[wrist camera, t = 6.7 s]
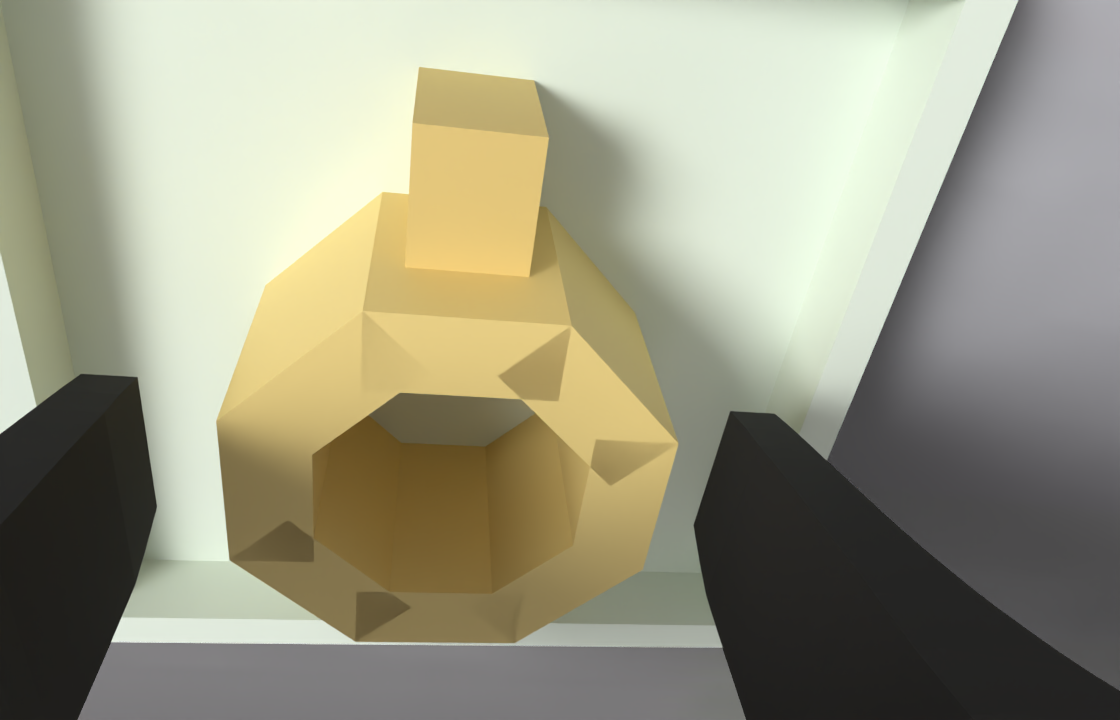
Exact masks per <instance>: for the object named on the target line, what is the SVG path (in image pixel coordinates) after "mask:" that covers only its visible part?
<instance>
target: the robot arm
mask: <svg viewBox="0 0 1120 720" xmlns="http://www.w3.org/2000/svg"><path fill="white" fill-rule="evenodd" d="M156 509H157V503H156V496H155V490H154V483H153V476H152V470H151V463H150V456H149V450H148V443H147V436H146V430H145V423H144V416H143V410H142V403H141V396H140V390H139V383H138V377H129V376H112V375H94V374H80V375H79V376H77V377H76V378H74V379H73V380H72V381H70V382H69V383H67V384H66V385H65V386H63V387H62V388H60V389H59V390H58V391H56V392H55V393H54V394H52V395H51V396H50V397H48V398H47V399H46V400H44V401H43V402H42V403H40V404H39V405H38V406H36V407H35V408H34V409H32V410H31V411H30V412H29V413H27V414H26V415H25V416H23V417H22V418H21V419H19V420H18V421H17V422H15V423H14V424H13V425H11V426H10V427H9V428H7V429H6V430H5V431H3V432H2V433H1V434H0V720H77V719H78V717H79V715H80V712H81V710H82V708H83V705H84V703H85V701H86V699H87V696H88V694H89V692H90V689H91V687H92V685H93V682H94V680H95V678H96V676H97V673H98V671H99V669H100V666H101V664H102V662H103V659H104V657H105V655H106V653H107V650H108V648H109V646H110V643H111V641H112V639H113V636H114V634H115V632H116V629H117V627H118V625H119V622H120V620H121V618H122V615H123V613H124V610H125V608H126V606H127V603H128V601H129V599H130V596H131V594H132V591H133V589H134V587H135V584H136V581H137V577H138V574H139V571H140V567H141V564H142V560H143V557H144V554H145V550H146V547H147V543H148V539H149V535H150V532H151V528H152V524H153V520H154V517H155V513H156ZM693 526H694V532H695V538H696V544H697V550H698V556H699V562H700V567H701V572H702V577H703V582H704V587H705V592H706V597H707V600H708V603H709V606H710V610H711V613H712V616H713V619H714V622H715V625H716V629H717V632H718V635H719V638H720V641H721V644H722V647H723V651H724V654H725V657H726V660H727V663H728V666H729V669H730V672H731V675H732V678H733V681H734V684H735V687H736V690H737V693H738V696H739V699H740V702H741V705H742V708H743V711H744V714H745V717H746V720H1120V691H1119V690H1117V689H1115V688H1114V687H1112V686H1111V685H1109V684H1107V683H1106V682H1104V681H1103V680H1101V679H1100V678H1098V677H1096V676H1095V675H1093V674H1092V673H1090V672H1088V671H1087V670H1085V669H1084V668H1082V667H1081V666H1079V665H1078V664H1076V663H1075V662H1073V661H1072V660H1070V659H1069V658H1067V657H1066V656H1064V655H1063V654H1061V653H1060V652H1058V651H1057V650H1055V649H1054V648H1052V647H1051V646H1050V645H1048V644H1047V643H1045V642H1044V641H1042V640H1041V639H1040V638H1038V637H1037V636H1036V635H1034V634H1033V633H1031V632H1030V631H1029V630H1027V629H1026V628H1024V627H1023V626H1022V625H1020V624H1019V623H1018V622H1016V621H1015V620H1013V619H1012V618H1011V617H1009V616H1008V615H1006V614H1005V613H1004V612H1002V611H1001V610H1000V609H998V608H997V607H995V606H994V605H993V604H991V603H990V602H989V601H988V600H986V599H985V598H984V597H982V596H981V595H980V594H978V593H977V592H976V591H975V590H973V589H972V588H971V587H969V586H968V585H967V584H966V583H964V582H963V581H962V580H961V579H960V578H958V577H957V576H956V575H955V574H954V573H952V572H951V571H950V570H949V569H948V568H946V567H945V566H944V565H943V564H941V563H940V562H939V561H938V560H937V559H935V558H934V557H933V556H932V555H931V554H929V553H928V552H927V551H926V550H924V549H923V548H922V547H921V546H920V545H919V544H918V543H916V542H915V541H914V540H913V539H912V538H911V537H909V536H908V535H907V534H906V533H905V532H904V531H903V530H901V529H900V528H899V527H898V526H897V525H896V524H895V523H894V522H892V521H891V520H890V519H889V518H888V517H887V516H886V515H885V514H884V513H882V512H881V511H880V510H879V509H878V508H877V507H876V506H875V505H874V504H873V503H872V502H870V501H869V500H868V499H867V498H866V497H865V496H864V495H863V494H862V493H861V492H860V491H859V490H857V489H856V488H855V487H854V486H853V485H852V484H851V483H850V482H849V481H848V480H847V479H846V478H845V477H844V476H843V475H841V474H840V473H839V472H838V471H837V470H836V469H835V468H834V467H833V466H832V465H831V464H830V463H829V462H828V461H827V460H826V459H824V458H823V457H822V456H821V455H820V454H819V453H818V452H817V451H816V450H815V449H814V448H813V447H812V446H811V445H810V444H808V443H807V442H806V441H805V440H804V439H803V438H802V437H801V436H800V435H799V434H798V433H797V432H795V431H794V430H793V429H792V428H791V427H790V426H789V425H788V424H787V423H785V422H784V421H783V420H782V419H781V418H779V417H778V416H777V415H776V414H773V413H756V412H738V411H730V413H729V416H728V419H727V422H726V426H725V429H724V432H723V435H722V438H721V441H720V444H719V447H718V450H717V454H716V457H715V460H714V463H713V466H712V469H711V472H710V475H709V478H708V481H707V485H706V488H705V491H704V494H703V497H702V500H701V503H700V506H699V509H698V513H697V516H696V519H695V522H694V525H693Z"/></svg>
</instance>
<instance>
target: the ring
mask: <svg viewBox="0 0 1120 720" xmlns="http://www.w3.org/2000/svg"><path fill="white" fill-rule="evenodd" d="M548 141H549V135H548V132H547V128H546V124H545V120H544V116H543V112H542V108H541V105H540V101H539V97H538V93H537V89H536V85H535V82H534V80H527V79H518V78H510V77H501V76H493V75H484V74H476V73H467V72H459V71H450V70H442V69H433V68H425V67H419V70H418V79H417V88H416V96H415V105H414V114H413V122H412V141H411V160H410V180H409V194H401V193H391V192H382V193H380V194H379V195H378V196H377V197H375V198H374V199H373V200H372V201H370V202H369V203H368V204H367V205H365V206H364V207H363V208H362V209H360V210H359V211H358V212H357V213H355V214H354V215H353V216H352V217H350V218H349V219H348V220H347V221H345V222H344V223H343V224H342V225H340V226H339V227H338V228H337V229H335V230H334V231H333V232H332V233H330V234H329V235H328V236H327V237H325V238H324V239H323V240H321V241H320V242H319V243H318V244H316V245H315V246H314V247H313V248H311V249H310V250H309V251H308V252H306V253H305V254H304V255H303V256H301V257H300V258H299V259H298V260H296V261H295V262H294V263H293V264H291V265H290V266H289V267H288V268H286V269H285V270H284V271H283V272H281V273H280V274H279V275H278V276H276V277H275V278H274V279H273V280H271V281H270V282H269V283H268V284H266V285H265V288H264V291H263V293H262V296H261V299H260V302H259V304H258V307H257V310H256V313H255V315H254V318H253V321H252V324H251V326H250V329H249V332H248V335H247V337H246V340H245V343H244V346H243V348H242V351H241V354H240V357H239V359H238V362H237V365H236V368H235V370H234V373H233V376H232V379H231V381H230V384H229V387H228V390H227V392H226V395H225V398H224V401H223V403H222V406H221V409H220V412H219V414H218V417H217V420H216V425H217V436H218V446H219V457H220V467H221V478H222V488H223V499H224V509H225V520H226V530H227V541H228V551H229V560H230V561H231V562H233V563H234V564H236V565H238V566H239V567H241V568H242V569H244V570H245V571H247V572H248V573H250V574H251V575H253V576H255V577H256V578H258V579H259V580H261V581H262V582H264V583H265V584H267V585H268V586H270V587H272V588H273V589H275V590H276V591H278V592H279V593H281V594H282V595H284V596H285V597H287V598H289V599H290V600H292V601H293V602H295V603H296V604H298V605H299V606H301V607H302V608H304V609H306V610H307V611H309V612H310V613H312V614H313V615H315V616H316V617H318V618H319V619H321V620H323V621H324V622H326V623H327V624H329V625H330V626H332V627H333V628H335V629H336V630H338V631H340V632H341V633H343V634H344V635H346V636H347V637H349V638H350V639H352V640H353V641H355V642H430V643H516V642H518V641H519V640H521V639H523V638H525V637H526V636H528V635H530V634H532V633H533V632H535V631H537V630H539V629H540V628H542V627H544V626H546V625H547V624H549V623H551V622H553V621H554V620H556V619H558V618H560V617H561V616H563V615H565V614H567V613H568V612H570V611H572V610H573V609H575V608H577V607H579V606H580V605H582V604H584V603H586V602H587V601H589V600H591V599H593V598H594V597H596V596H598V595H600V594H601V593H603V592H605V591H607V590H608V589H610V588H612V587H614V586H615V585H617V584H619V583H621V582H622V581H624V580H626V579H628V578H629V577H631V576H633V575H635V574H636V573H638V572H640V571H641V570H643V567H644V564H645V560H646V557H647V553H648V550H649V546H650V543H651V539H652V536H653V532H654V529H655V525H656V522H657V518H658V515H659V511H660V508H661V504H662V501H663V497H664V494H665V490H666V487H667V483H668V480H669V476H670V472H671V469H672V465H673V462H674V458H675V455H676V451H677V448H678V444H679V443H678V440H677V437H676V434H675V431H674V428H673V425H672V422H671V419H670V416H669V413H668V410H667V407H666V404H665V401H664V398H663V395H662V392H661V389H660V386H659V383H658V380H657V377H656V374H655V371H654V368H653V365H652V362H651V359H650V356H649V353H648V350H647V347H646V344H645V341H644V338H643V335H642V332H641V329H640V326H639V323H638V320H637V317H636V314H635V312H634V311H633V309H632V308H631V307H630V306H629V305H628V304H627V302H626V301H625V300H624V299H623V298H622V296H621V295H620V294H619V293H618V292H617V290H616V289H615V288H614V287H613V286H612V285H611V283H610V282H609V281H608V280H607V279H606V277H605V276H604V275H603V274H602V273H601V271H600V270H599V269H598V268H597V267H596V265H595V264H594V263H593V262H592V261H591V260H590V258H589V257H588V256H587V255H586V254H585V252H584V251H583V250H582V249H581V248H580V246H579V245H578V244H577V243H576V242H575V240H574V239H573V238H572V237H571V236H570V235H569V233H568V232H567V231H566V230H565V229H564V227H563V226H562V225H561V224H560V223H559V221H558V220H557V219H556V218H555V217H554V216H553V214H552V213H551V212H550V211H549V210H548V208H547V207H541V206H539V205H540V198H541V191H542V184H543V177H544V170H545V163H546V156H547V148H548ZM399 393H416V394H434V395H452V396H470V397H488V398H506V399H521V400H522V401H523V402H524V403H526V404H527V405H528V406H529V407H530V408H531V409H532V410H533V411H534V412H535V414H534V415H532V416H531V417H529V418H528V419H526V420H525V421H523V422H522V423H520V424H519V425H517V426H516V427H514V428H513V429H511V430H510V431H508V432H506V433H505V434H503V435H502V436H500V437H499V438H497V439H496V440H494V441H493V442H491V443H490V444H488V445H487V446H485V447H484V446H463V445H441V444H419V443H401V442H400V441H399V440H397V439H396V438H395V437H394V436H393V435H391V434H390V433H389V432H388V431H387V430H385V429H384V428H383V427H382V426H381V425H380V424H378V423H377V422H376V421H375V420H374V419H372V418H371V417H370V416H369V414H370V413H372V412H373V411H375V410H376V409H378V408H379V407H380V406H382V405H383V404H385V403H386V402H387V401H389V400H390V399H392V398H393V397H395V396H396V395H397V394H399Z"/></svg>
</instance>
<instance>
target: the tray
mask: <svg viewBox="0 0 1120 720" xmlns="http://www.w3.org/2000/svg"><path fill="white" fill-rule="evenodd" d="M1017 2H1018V0H0V434H1V433H2V432H3V431H5V430H6V429H7V428H9V427H10V426H11V425H13V424H14V423H15V422H17V421H18V420H19V419H21V418H22V417H23V416H25V415H26V414H27V413H29V412H30V411H31V410H32V409H34V408H35V407H36V406H38V405H39V404H40V403H42V402H43V401H44V400H46V399H47V398H48V397H50V396H51V395H52V394H54V393H55V392H56V391H58V390H59V389H60V388H62V387H63V386H65V385H66V384H67V383H69V382H70V381H72V380H73V379H74V378H76V377H77V376H79V375H80V374H94V375H112V376H129V377H138V383H139V390H140V396H141V403H142V410H143V416H144V423H145V430H146V436H147V443H148V450H149V456H150V463H151V470H152V476H153V483H154V490H155V496H156V503H157V509H156V513H155V517H154V520H153V524H152V528H151V532H150V535H149V539H148V543H147V547H146V550H145V554H144V557H143V560H142V564H141V567H140V571H139V574H138V577H137V581H136V584H135V587H134V589H133V591H132V594H131V596H130V599H129V601H128V603H127V606H126V608H125V610H124V613H123V615H122V618H121V620H120V622H119V625H118V627H117V629H116V632H115V634H114V636H113V639H112V641H111V642H155V643H261V644H367V645H474V646H580V647H686V648H723V647H722V644H721V641H720V638H719V635H718V632H717V629H716V625H715V622H714V619H713V616H712V613H711V610H710V606H709V603H708V600H707V597H706V592H705V587H704V582H703V577H702V572H701V567H700V562H699V556H698V550H697V544H696V538H695V532H694V526H693V525H694V522H695V519H696V516H697V513H698V509H699V506H700V503H701V500H702V497H703V494H704V491H705V488H706V485H707V481H708V478H709V475H710V472H711V469H712V466H713V463H714V460H715V457H716V454H717V450H718V447H719V444H720V441H721V438H722V435H723V432H724V429H725V426H726V422H727V419H728V416H729V413H730V411H738V412H756V413H773V414H776V415H777V416H778V417H779V418H781V419H782V420H783V421H784V422H785V423H787V424H788V425H789V426H790V427H791V428H792V429H793V430H794V431H795V432H797V433H798V434H799V435H800V436H801V437H802V438H803V439H804V440H805V441H806V442H807V443H808V444H810V445H811V446H812V447H813V448H814V449H815V450H816V451H817V452H818V453H819V454H820V455H821V456H822V457H823V458H824V459H826V460H827V459H828V457H829V454H830V452H831V450H832V447H833V445H834V442H835V440H836V437H837V435H838V433H839V430H840V428H841V425H842V423H843V421H844V418H845V416H846V413H847V411H848V409H849V406H850V404H851V401H852V399H853V397H854V394H855V392H856V389H857V387H858V385H859V382H860V380H861V377H862V375H863V373H864V370H865V368H866V365H867V363H868V361H869V358H870V356H871V353H872V351H873V349H874V346H875V344H876V341H877V339H878V337H879V334H880V332H881V329H882V327H883V325H884V322H885V320H886V317H887V315H888V312H889V310H890V308H891V305H892V303H893V300H894V298H895V296H896V293H897V291H898V288H899V286H900V284H901V281H902V279H903V276H904V274H905V272H906V269H907V267H908V264H909V262H910V260H911V257H912V255H913V252H914V250H915V248H916V245H917V243H918V240H919V238H920V236H921V233H922V231H923V228H924V226H925V224H926V221H927V219H928V216H929V214H930V212H931V209H932V207H933V204H934V202H935V200H936V197H937V195H938V192H939V190H940V188H941V185H942V183H943V180H944V178H945V175H946V173H947V171H948V168H949V166H950V163H951V161H952V159H953V156H954V154H955V151H956V149H957V147H958V144H959V142H960V139H961V137H962V135H963V132H964V130H965V127H966V125H967V123H968V120H969V118H970V115H971V113H972V111H973V108H974V106H975V103H976V101H977V99H978V96H979V94H980V91H981V89H982V87H983V84H984V82H985V79H986V77H987V75H988V72H989V70H990V67H991V65H992V63H993V60H994V58H995V55H996V53H997V50H998V48H999V46H1000V43H1001V41H1002V38H1003V36H1004V34H1005V31H1006V29H1007V26H1008V24H1009V22H1010V19H1011V17H1012V14H1013V12H1014V10H1015V7H1016V5H1017ZM419 67H425V68H433V69H442V70H450V71H459V72H467V73H476V74H484V75H493V76H501V77H510V78H518V79H527V80H534V82H535V85H536V89H537V93H538V97H539V101H540V105H541V108H542V112H543V116H544V120H545V124H546V128H547V132H548V135H549V141H548V148H547V156H546V163H545V170H544V177H543V184H542V191H541V198H540V205H539V206H541V207H547V208H548V210H549V211H550V212H551V213H552V214H553V216H554V217H555V218H556V219H557V220H558V221H559V223H560V224H561V225H562V226H563V227H564V229H565V230H566V231H567V232H568V233H569V235H570V236H571V237H572V238H573V239H574V240H575V242H576V243H577V244H578V245H579V246H580V248H581V249H582V250H583V251H584V252H585V254H586V255H587V256H588V257H589V258H590V260H591V261H592V262H593V263H594V264H595V265H596V267H597V268H598V269H599V270H600V271H601V273H602V274H603V275H604V276H605V277H606V279H607V280H608V281H609V282H610V283H611V285H612V286H613V287H614V288H615V289H616V290H617V292H618V293H619V294H620V295H621V296H622V298H623V299H624V300H625V301H626V302H627V304H628V305H629V306H630V307H631V308H632V309H633V311H634V312H635V314H636V317H637V320H638V323H639V326H640V329H641V332H642V335H643V338H644V341H645V344H646V347H647V350H648V353H649V356H650V359H651V362H652V365H653V368H654V371H655V374H656V377H657V380H658V383H659V386H660V389H661V392H662V395H663V398H664V401H665V404H666V407H667V410H668V413H669V416H670V419H671V422H672V425H673V428H674V431H675V434H676V437H677V440H678V443H679V444H678V448H677V451H676V455H675V458H674V462H673V465H672V469H671V472H670V476H669V480H668V483H667V487H666V490H665V494H664V497H663V501H662V504H661V508H660V511H659V515H658V518H657V522H656V525H655V529H654V532H653V536H652V539H651V543H650V546H649V550H648V553H647V557H646V560H645V564H644V567H643V570H641V571H640V572H638V573H636V574H635V575H633V576H631V577H629V578H628V579H626V580H624V581H622V582H621V583H619V584H617V585H615V586H614V587H612V588H610V589H608V590H607V591H605V592H603V593H601V594H600V595H598V596H596V597H594V598H593V599H591V600H589V601H587V602H586V603H584V604H582V605H580V606H579V607H577V608H575V609H573V610H572V611H570V612H568V613H567V614H565V615H563V616H561V617H560V618H558V619H556V620H554V621H553V622H551V623H549V624H547V625H546V626H544V627H542V628H540V629H539V630H537V631H535V632H533V633H532V634H530V635H528V636H526V637H525V638H523V639H521V640H519V641H518V642H516V643H430V642H355V641H353V640H352V639H350V638H349V637H347V636H346V635H344V634H343V633H341V632H340V631H338V630H336V629H335V628H333V627H332V626H330V625H329V624H327V623H326V622H324V621H323V620H321V619H319V618H318V617H316V616H315V615H313V614H312V613H310V612H309V611H307V610H306V609H304V608H302V607H301V606H299V605H298V604H296V603H295V602H293V601H292V600H290V599H289V598H287V597H285V596H284V595H282V594H281V593H279V592H278V591H276V590H275V589H273V588H272V587H270V586H268V585H267V584H265V583H264V582H262V581H261V580H259V579H258V578H256V577H255V576H253V575H251V574H250V573H248V572H247V571H245V570H244V569H242V568H241V567H239V566H238V565H236V564H234V563H233V562H231V561H230V560H229V551H228V541H227V530H226V520H225V509H224V499H223V488H222V478H221V467H220V457H219V446H218V436H217V425H216V420H217V417H218V414H219V412H220V409H221V406H222V403H223V401H224V398H225V395H226V392H227V390H228V387H229V384H230V381H231V379H232V376H233V373H234V370H235V368H236V365H237V362H238V359H239V357H240V354H241V351H242V348H243V346H244V343H245V340H246V337H247V335H248V332H249V329H250V326H251V324H252V321H253V318H254V315H255V313H256V310H257V307H258V304H259V302H260V299H261V296H262V293H263V291H264V288H265V285H266V284H268V283H269V282H270V281H271V280H273V279H274V278H275V277H276V276H278V275H279V274H280V273H281V272H283V271H284V270H285V269H286V268H288V267H289V266H290V265H291V264H293V263H294V262H295V261H296V260H298V259H299V258H300V257H301V256H303V255H304V254H305V253H306V252H308V251H309V250H310V249H311V248H313V247H314V246H315V245H316V244H318V243H319V242H320V241H321V240H323V239H324V238H325V237H327V236H328V235H329V234H330V233H332V232H333V231H334V230H335V229H337V228H338V227H339V226H340V225H342V224H343V223H344V222H345V221H347V220H348V219H349V218H350V217H352V216H353V215H354V214H355V213H357V212H358V211H359V210H360V209H362V208H363V207H364V206H365V205H367V204H368V203H369V202H370V201H372V200H373V199H374V198H375V197H377V196H378V195H379V194H380V193H382V192H391V193H401V194H409V180H410V160H411V141H412V122H413V114H414V105H415V96H416V88H417V79H418V70H419ZM534 414H535V412H534V411H533V410H532V409H531V408H530V407H529V406H528V405H527V404H526V403H524V402H523V401H522V400H521V399H506V398H488V397H470V396H452V395H434V394H416V393H399V394H397V395H396V396H395V397H393V398H392V399H390V400H389V401H387V402H386V403H385V404H383V405H382V406H380V407H379V408H378V409H376V410H375V411H373V412H372V413H370V414H369V416H370V417H371V418H372V419H374V420H375V421H376V422H377V423H378V424H380V425H381V426H382V427H383V428H384V429H385V430H387V431H388V432H389V433H390V434H391V435H393V436H394V437H395V438H396V439H397V440H399V441H400V442H401V443H419V444H441V445H463V446H484V447H485V446H487V445H488V444H490V443H491V442H493V441H494V440H496V439H497V438H499V437H500V436H502V435H503V434H505V433H506V432H508V431H510V430H511V429H513V428H514V427H516V426H517V425H519V424H520V423H522V422H523V421H525V420H526V419H528V418H529V417H531V416H532V415H534Z"/></svg>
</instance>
